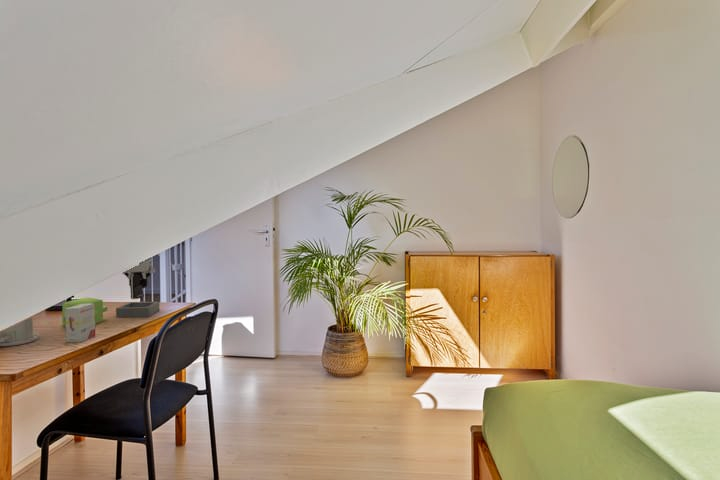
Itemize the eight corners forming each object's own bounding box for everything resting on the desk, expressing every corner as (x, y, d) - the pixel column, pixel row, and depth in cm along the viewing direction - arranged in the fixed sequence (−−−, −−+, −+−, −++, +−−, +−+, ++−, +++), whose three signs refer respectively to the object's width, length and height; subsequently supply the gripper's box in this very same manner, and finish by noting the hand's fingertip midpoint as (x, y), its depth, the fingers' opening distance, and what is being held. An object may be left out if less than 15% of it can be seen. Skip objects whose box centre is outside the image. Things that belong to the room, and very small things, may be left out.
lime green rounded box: (72, 333, 150) (72, 308, 150) (51, 329, 152) (51, 305, 152) (112, 320, 168) (112, 297, 167) (92, 317, 170) (92, 295, 169)
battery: (139, 299, 175) (138, 273, 174) (130, 299, 175) (129, 273, 174) (147, 296, 182) (146, 271, 181) (138, 296, 182) (138, 271, 181)
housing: (148, 317, 173) (148, 307, 173) (116, 317, 171) (116, 308, 171) (159, 310, 186) (159, 301, 186) (129, 310, 184) (129, 302, 184)
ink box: (82, 335, 146) (81, 302, 145) (96, 335, 146) (95, 303, 145) (65, 342, 137) (64, 308, 137) (79, 342, 137) (78, 308, 137)
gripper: (113, 246, 172) (114, 289, 173) (154, 246, 175) (155, 288, 176) (120, 245, 180) (121, 286, 181) (161, 245, 182) (161, 285, 183)
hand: (138, 287), depth 178 cm, fingers closed on battery, 4 cm apart
